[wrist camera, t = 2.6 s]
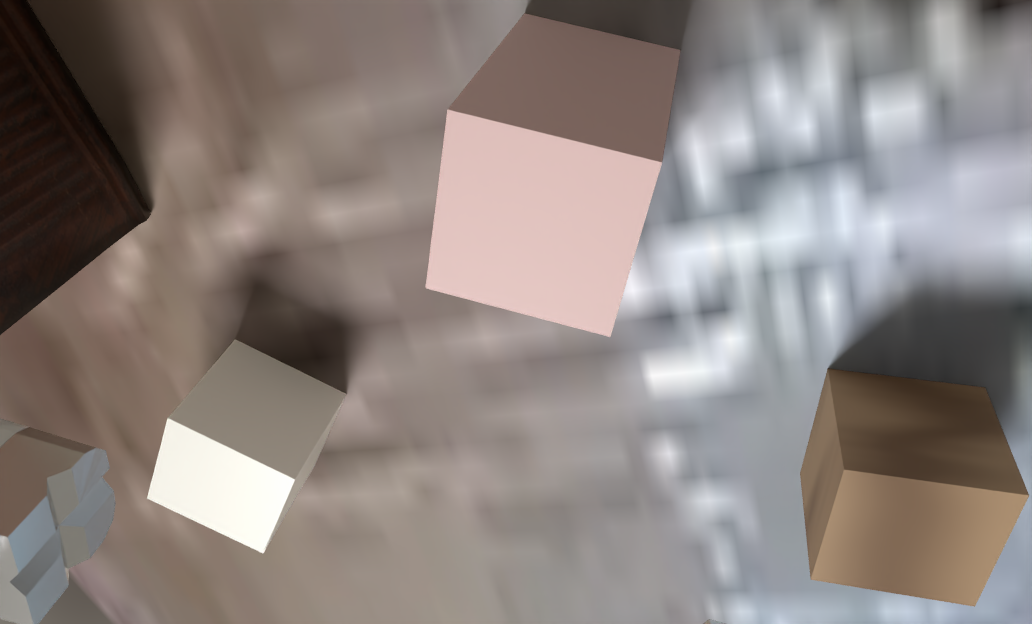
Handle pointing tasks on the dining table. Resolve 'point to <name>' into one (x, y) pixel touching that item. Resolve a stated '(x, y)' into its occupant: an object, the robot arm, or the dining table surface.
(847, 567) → the walnut block
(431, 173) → the dining table surface
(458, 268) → the dusty-rose block
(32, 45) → the manual coffee grinder
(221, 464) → the off-white block
